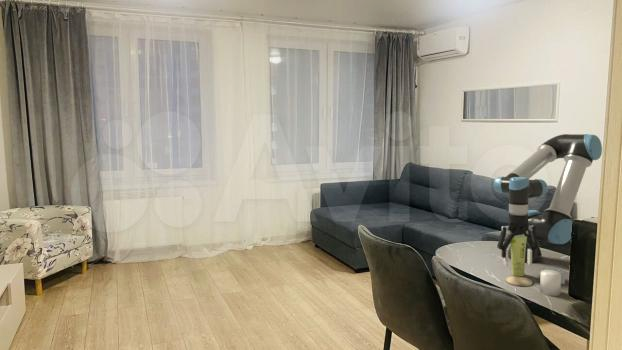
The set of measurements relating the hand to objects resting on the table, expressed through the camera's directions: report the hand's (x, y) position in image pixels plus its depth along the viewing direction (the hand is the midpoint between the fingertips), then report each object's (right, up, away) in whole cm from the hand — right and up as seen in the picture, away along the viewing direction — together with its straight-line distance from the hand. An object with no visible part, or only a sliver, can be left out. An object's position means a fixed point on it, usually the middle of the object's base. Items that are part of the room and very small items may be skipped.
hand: (517, 264), depth 196 cm
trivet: (-3, -6, -8) cm, 11 cm away
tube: (0, -5, +1) cm, 5 cm away
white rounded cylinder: (+3, -7, -20) cm, 22 cm away
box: (+11, -5, -9) cm, 15 cm away
